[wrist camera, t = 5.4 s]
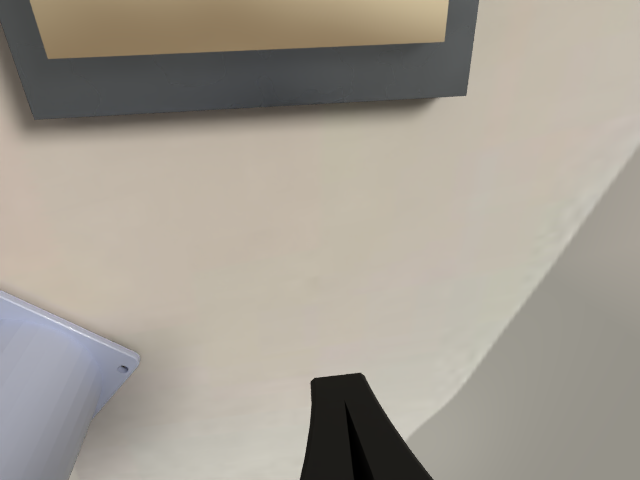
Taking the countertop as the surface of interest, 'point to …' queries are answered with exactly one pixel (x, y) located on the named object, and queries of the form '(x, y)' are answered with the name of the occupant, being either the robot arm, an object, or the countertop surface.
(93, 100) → the base
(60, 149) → the countertop surface
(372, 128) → the countertop surface
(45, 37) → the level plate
